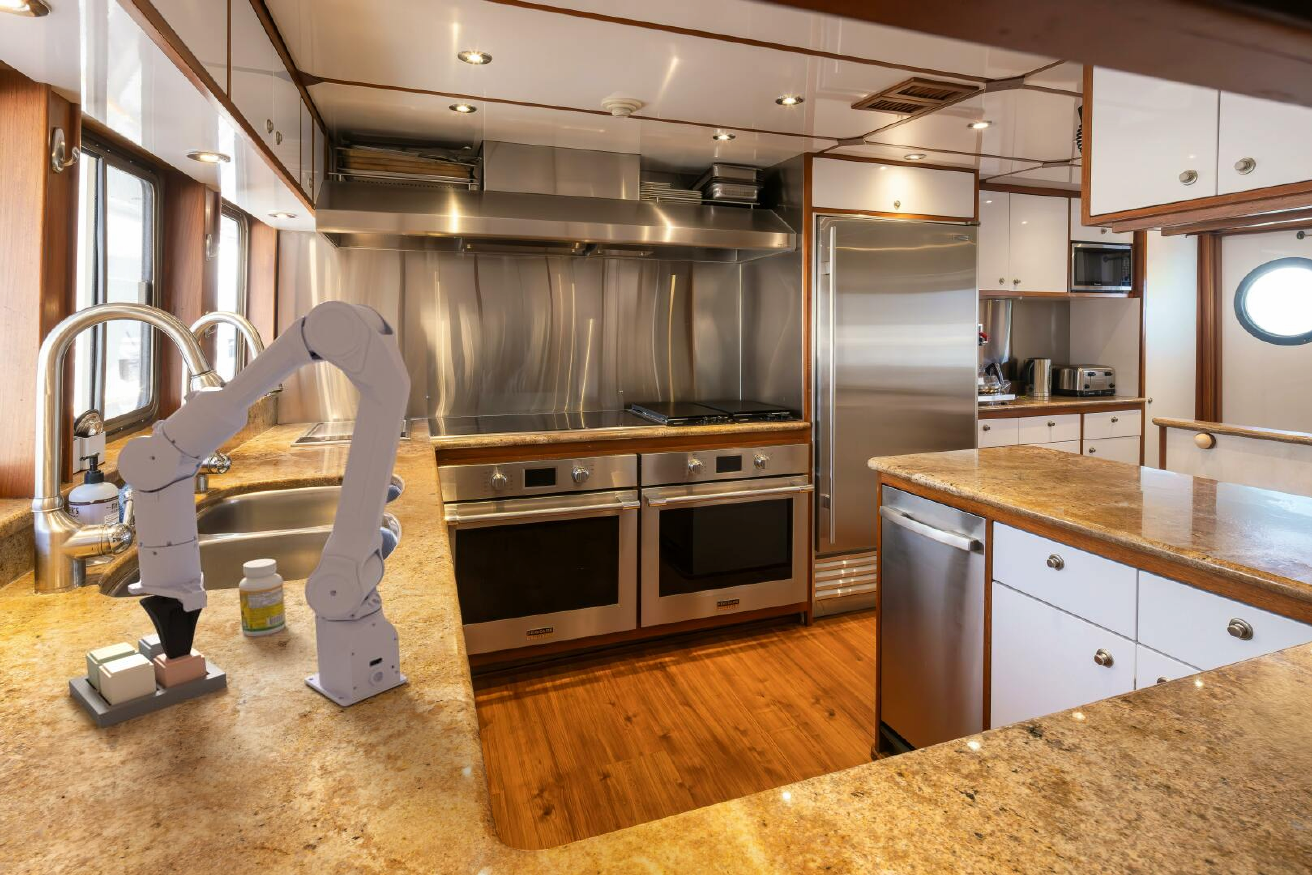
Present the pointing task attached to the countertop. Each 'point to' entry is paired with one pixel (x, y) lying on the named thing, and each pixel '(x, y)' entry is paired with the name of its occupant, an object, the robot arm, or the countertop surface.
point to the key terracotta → (179, 668)
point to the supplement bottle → (261, 598)
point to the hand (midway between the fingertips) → (178, 655)
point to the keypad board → (142, 697)
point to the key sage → (106, 659)
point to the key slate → (150, 647)
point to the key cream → (127, 679)
